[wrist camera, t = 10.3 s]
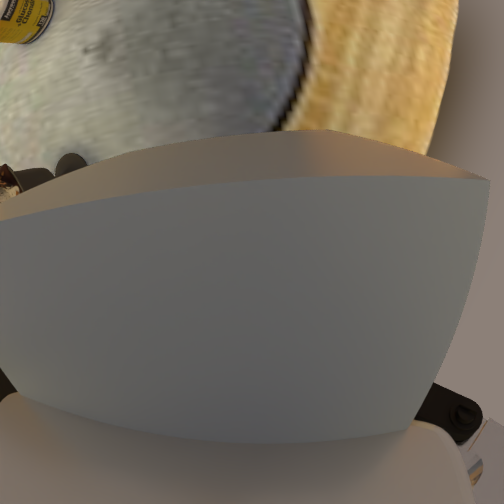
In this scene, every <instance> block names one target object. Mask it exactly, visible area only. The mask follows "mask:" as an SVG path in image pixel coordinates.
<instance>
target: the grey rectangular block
mask: <svg viewBox="0 0 504 504" xmlns="http://www.w3.org/2000/svg"><path fill="white" fill-rule="evenodd" d="M489 189H490V180H488V179H485V178H483V177H481V176H478V175H476V174H474V173H471V172H468V171H466V170H464V169H461V168H458V167H456V166H453V165H451V164H448V163H445V162H442V161H440V160H436V159H434V158H431V157H428V156H425V155H422V154H419V153H416V152H413V151H409V150H406V149H403V148H399V147H396V146H393V145H389V144H386V143H382V142H378V141H374V140H371V139H367V138H363V137H358V136H354V135H350V134H346V133H341V132H337V131H332V130H298V131H279V132H264V133H252V134H241V135H232V136H223V137H215V138H207V139H200V140H193V141H186V142H180V143H174V144H168V145H163V146H157V147H152V148H147V149H142V150H137V151H132V152H128V153H125V154H122V155H119V156H116V157H112V158H109V159H106V160H103V161H100V162H98V163H95V164H92V165H89V166H86V167H84V168H81V169H78V170H75V171H73V172H70V173H68V174H65V175H63V176H60V177H58V178H55V179H53V180H50V181H48V182H45V183H43V184H41V185H39V186H36V187H34V188H32V189H30V190H27V191H25V192H23V193H21V194H19V195H17V196H15V197H12V198H10V199H8V200H6V201H4V202H2V203H0V368H1V369H2V371H3V372H4V373H5V375H6V376H7V378H8V379H9V380H10V382H11V383H12V384H13V386H14V387H15V388H16V390H17V391H18V392H19V394H20V395H22V396H25V397H27V398H30V399H32V400H35V401H37V402H40V403H43V404H45V405H48V406H51V407H54V408H56V409H59V410H62V411H65V412H69V413H72V414H75V415H78V416H81V417H85V418H88V419H91V420H95V421H99V422H102V423H106V424H110V425H114V426H119V427H123V428H127V429H132V430H137V431H142V432H147V433H153V434H158V435H165V436H171V437H178V438H186V439H194V440H203V441H214V442H228V443H252V444H283V443H309V442H323V441H334V440H343V439H352V438H359V437H366V436H373V435H379V434H385V433H390V432H396V431H401V430H406V429H408V427H409V426H410V424H411V422H412V421H413V419H414V417H415V416H416V414H417V412H418V410H419V409H420V407H421V405H422V403H423V401H424V399H425V397H426V396H427V394H428V392H429V390H430V388H431V386H432V384H433V382H434V379H435V378H436V376H437V373H438V371H439V369H440V367H441V365H442V363H443V360H444V358H445V356H446V353H447V351H448V349H449V346H450V343H451V341H452V339H453V336H454V334H455V331H456V328H457V325H458V323H459V320H460V317H461V314H462V311H463V308H464V305H465V302H466V299H467V296H468V293H469V289H470V285H471V282H472V279H473V275H474V271H475V267H476V263H477V259H478V255H479V250H480V246H481V241H482V236H483V230H484V225H485V219H486V213H487V205H488V198H489Z"/></svg>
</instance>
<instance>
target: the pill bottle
mask: <svg viewBox="0 0 504 504" xmlns="http://www.w3.org/2000/svg"><path fill="white" fill-rule="evenodd" d="M52 11H53V2H52V0H0V42H4V43H16V44H26V43H29V42H31V41H33V40H34V39H36V38H37V37H38V36H39V35H40V34H41V33H42V31H43V30H44V29H45V27H46V26H47V24H48V22H49V20H50V18H51V15H52Z"/></svg>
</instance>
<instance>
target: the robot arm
mask: <svg viewBox="0 0 504 504" xmlns="http://www.w3.org/2000/svg"><path fill="white" fill-rule="evenodd" d="M0 504H504V427H503V426H502V425H500V424H499V423H497V422H496V421H494V420H493V419H491V418H489V419H488V420H486V419H484V418H483V415H482V411H481V408H480V407H479V405H478V404H477V403H476V402H474V401H473V400H471V399H469V398H466V397H464V396H462V395H460V394H457V393H455V392H453V391H451V390H449V389H447V388H444V387H442V386H440V385H438V384H436V383H434V382H433V384H432V386H431V388H430V390H429V392H428V394H427V396H426V397H425V399H424V401H423V403H422V405H421V407H420V409H419V410H418V412H417V414H416V416H415V417H414V419H413V421H412V422H411V424H410V426H409V427H408V429H406V430H401V431H396V432H390V433H385V434H379V435H373V436H366V437H359V438H352V439H343V440H334V441H323V442H309V443H283V444H252V443H228V442H214V441H203V440H194V439H186V438H178V437H171V436H165V435H158V434H153V433H147V432H142V431H137V430H132V429H127V428H123V427H119V426H114V425H110V424H106V423H102V422H99V421H95V420H91V419H88V418H85V417H81V416H78V415H75V414H72V413H69V412H65V411H62V410H59V409H56V408H54V407H51V406H48V405H45V404H43V403H40V402H37V401H35V400H32V399H30V398H27V397H25V396H22V395H20V394H19V392H18V391H17V390H16V389H15V390H14V391H13V393H12V394H9V395H8V396H6V397H5V398H4V399H3V400H2V401H1V402H0Z"/></svg>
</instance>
